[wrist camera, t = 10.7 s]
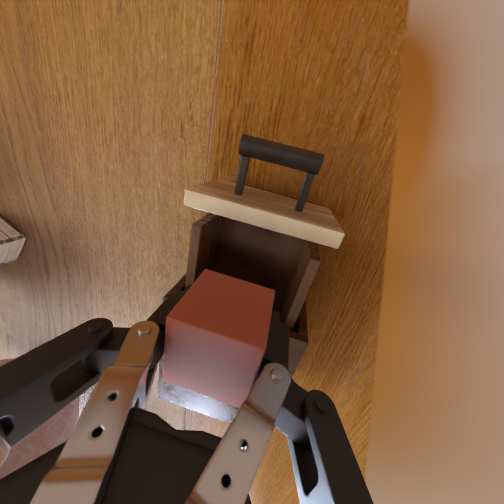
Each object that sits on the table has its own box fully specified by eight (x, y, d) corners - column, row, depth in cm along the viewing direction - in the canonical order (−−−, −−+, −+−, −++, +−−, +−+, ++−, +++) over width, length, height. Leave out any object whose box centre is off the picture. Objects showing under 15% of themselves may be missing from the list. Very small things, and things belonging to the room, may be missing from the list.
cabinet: (205, 252, 27) (163, 296, 18) (304, 281, 26) (308, 343, 18) (193, 335, 33) (157, 397, 25) (272, 361, 32) (263, 435, 24)
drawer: (227, 131, 20) (190, 119, 13) (347, 162, 20) (376, 165, 13) (203, 285, 28) (172, 328, 21) (289, 311, 27) (286, 365, 20)
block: (205, 268, 13) (165, 316, 9) (275, 289, 13) (266, 349, 9) (196, 321, 15) (160, 381, 11) (257, 341, 15) (243, 410, 11)
